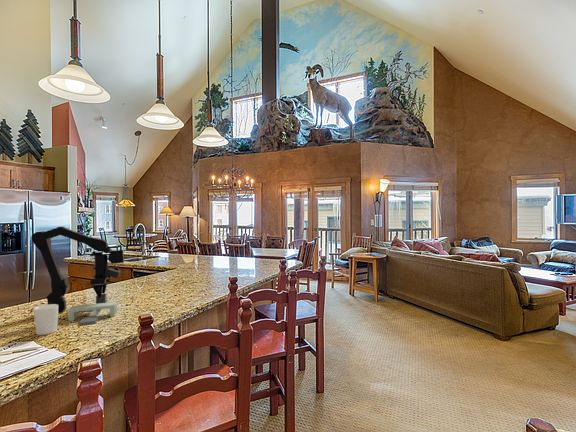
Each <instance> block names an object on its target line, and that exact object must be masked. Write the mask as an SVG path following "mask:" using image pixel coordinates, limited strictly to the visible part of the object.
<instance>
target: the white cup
mask: <svg viewBox="0 0 576 432" xmlns="http://www.w3.org/2000/svg"><path fill="white" fill-rule="evenodd" d="M33 316H34V327H35V334H36V335H38V336H46V335H49V334H53V333H55V332H57V331H58V324H59V323H58V322H59V312H58V305H57V304H48V303H47V304H44V305H39V306H35V307H33Z"/></svg>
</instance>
